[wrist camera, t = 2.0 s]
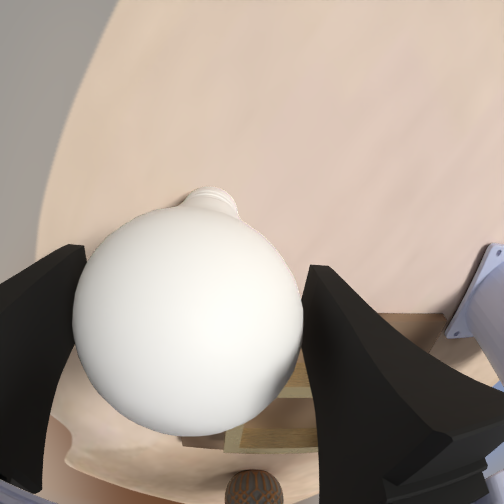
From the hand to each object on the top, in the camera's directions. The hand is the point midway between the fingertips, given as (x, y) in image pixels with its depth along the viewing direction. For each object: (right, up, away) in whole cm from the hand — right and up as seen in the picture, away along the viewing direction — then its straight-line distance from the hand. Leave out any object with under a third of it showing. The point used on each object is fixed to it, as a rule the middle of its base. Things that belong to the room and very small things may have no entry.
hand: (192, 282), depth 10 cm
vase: (+2, -26, +23) cm, 35 cm away
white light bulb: (0, +3, +5) cm, 6 cm away
